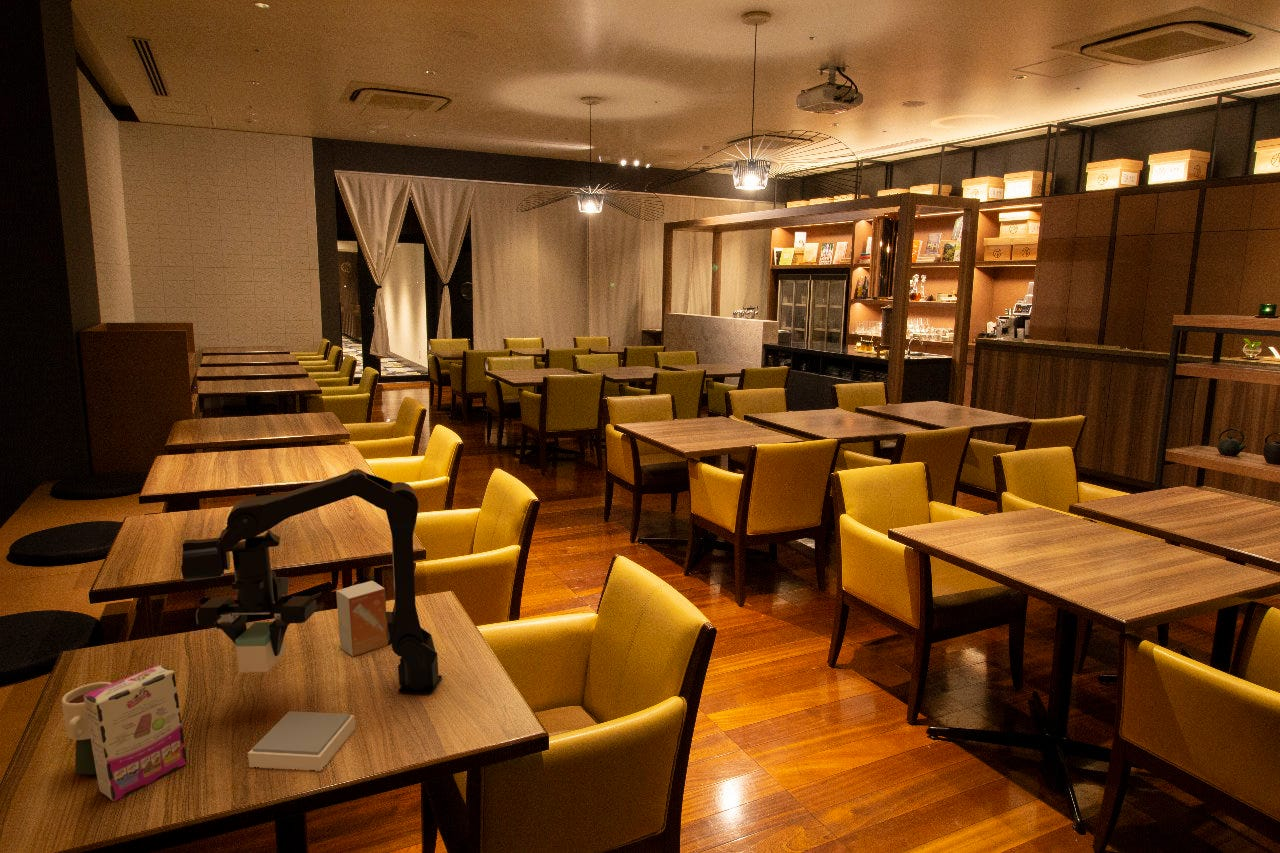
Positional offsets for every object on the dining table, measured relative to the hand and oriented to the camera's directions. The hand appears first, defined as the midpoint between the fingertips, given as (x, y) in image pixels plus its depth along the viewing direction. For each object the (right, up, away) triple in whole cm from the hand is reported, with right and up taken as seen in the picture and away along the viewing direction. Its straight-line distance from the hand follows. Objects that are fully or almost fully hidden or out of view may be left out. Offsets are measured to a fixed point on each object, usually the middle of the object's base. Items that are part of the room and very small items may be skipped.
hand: (262, 655), depth 138 cm
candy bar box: (-11, -15, -16) cm, 24 cm away
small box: (+8, -7, +28) cm, 30 cm away
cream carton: (0, -1, 0) cm, 1 cm away
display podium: (+11, -13, -8) cm, 19 cm away
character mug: (-20, -14, -13) cm, 28 cm away
